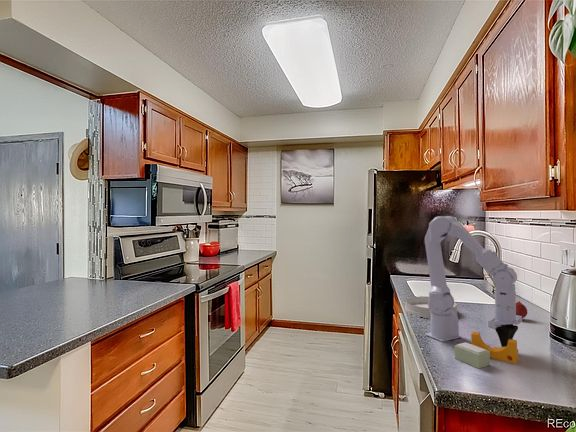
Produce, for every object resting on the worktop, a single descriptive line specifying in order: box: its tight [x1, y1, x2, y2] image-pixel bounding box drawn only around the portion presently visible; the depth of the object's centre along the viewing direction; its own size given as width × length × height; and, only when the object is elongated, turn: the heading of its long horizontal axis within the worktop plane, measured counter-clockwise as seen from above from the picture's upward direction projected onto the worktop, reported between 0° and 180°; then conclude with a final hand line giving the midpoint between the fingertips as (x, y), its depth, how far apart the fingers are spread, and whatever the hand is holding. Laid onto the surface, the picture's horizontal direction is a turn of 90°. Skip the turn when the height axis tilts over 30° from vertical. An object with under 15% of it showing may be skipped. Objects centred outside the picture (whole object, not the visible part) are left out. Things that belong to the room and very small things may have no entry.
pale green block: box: [454, 342, 491, 369], centre depth 105 cm, size 5×8×4 cm, turn 26°
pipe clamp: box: [470, 331, 519, 365], centre depth 109 cm, size 12×4×6 cm, turn 48°
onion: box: [516, 299, 528, 319], centre depth 145 cm, size 6×6×8 cm
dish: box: [404, 296, 458, 320], centre depth 157 cm, size 22×22×5 cm
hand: (505, 347), depth 112 cm, fingers closed
